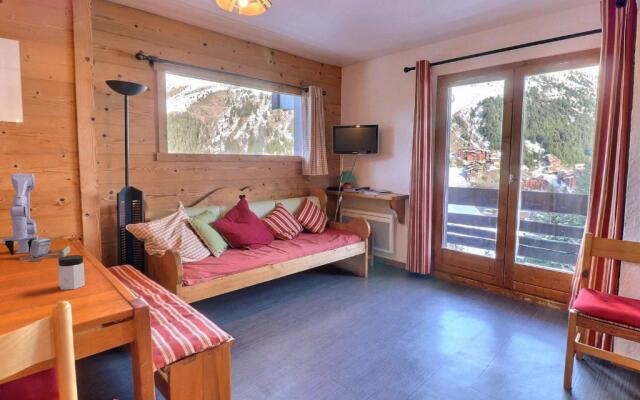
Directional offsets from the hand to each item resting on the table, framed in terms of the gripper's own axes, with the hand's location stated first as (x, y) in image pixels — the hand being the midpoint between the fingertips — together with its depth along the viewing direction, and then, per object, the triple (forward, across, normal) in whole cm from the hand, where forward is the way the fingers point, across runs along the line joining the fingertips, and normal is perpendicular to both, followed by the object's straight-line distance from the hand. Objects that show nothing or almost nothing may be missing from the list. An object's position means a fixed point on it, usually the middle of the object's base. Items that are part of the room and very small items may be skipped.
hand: (21, 254), depth 191 cm
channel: (+2, +11, 0) cm, 11 cm away
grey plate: (+2, +11, 0) cm, 11 cm away
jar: (+2, +34, -66) cm, 74 cm away
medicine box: (+1, +7, 0) cm, 7 cm away
